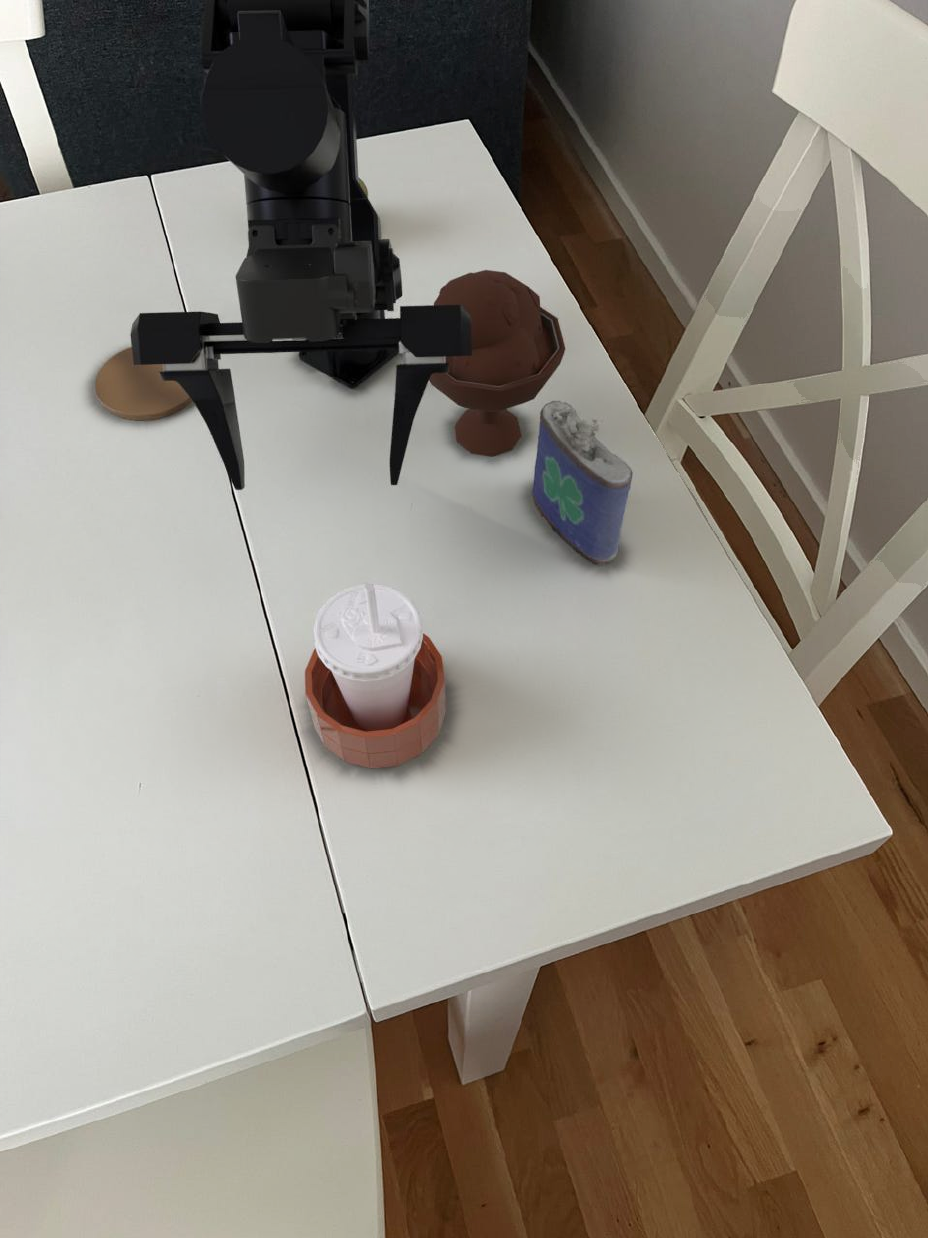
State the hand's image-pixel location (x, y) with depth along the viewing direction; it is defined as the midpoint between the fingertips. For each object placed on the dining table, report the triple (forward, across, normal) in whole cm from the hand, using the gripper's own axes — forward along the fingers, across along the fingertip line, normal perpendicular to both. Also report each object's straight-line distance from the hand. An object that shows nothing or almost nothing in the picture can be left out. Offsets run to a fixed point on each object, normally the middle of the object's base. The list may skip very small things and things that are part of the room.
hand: (317, 486), depth 59 cm
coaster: (-6, -17, +27) cm, 33 cm away
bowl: (+15, +3, +3) cm, 16 cm away
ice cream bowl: (-1, +11, +22) cm, 25 cm away
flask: (+6, +17, +14) cm, 23 cm away
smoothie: (+15, +3, +3) cm, 16 cm away
